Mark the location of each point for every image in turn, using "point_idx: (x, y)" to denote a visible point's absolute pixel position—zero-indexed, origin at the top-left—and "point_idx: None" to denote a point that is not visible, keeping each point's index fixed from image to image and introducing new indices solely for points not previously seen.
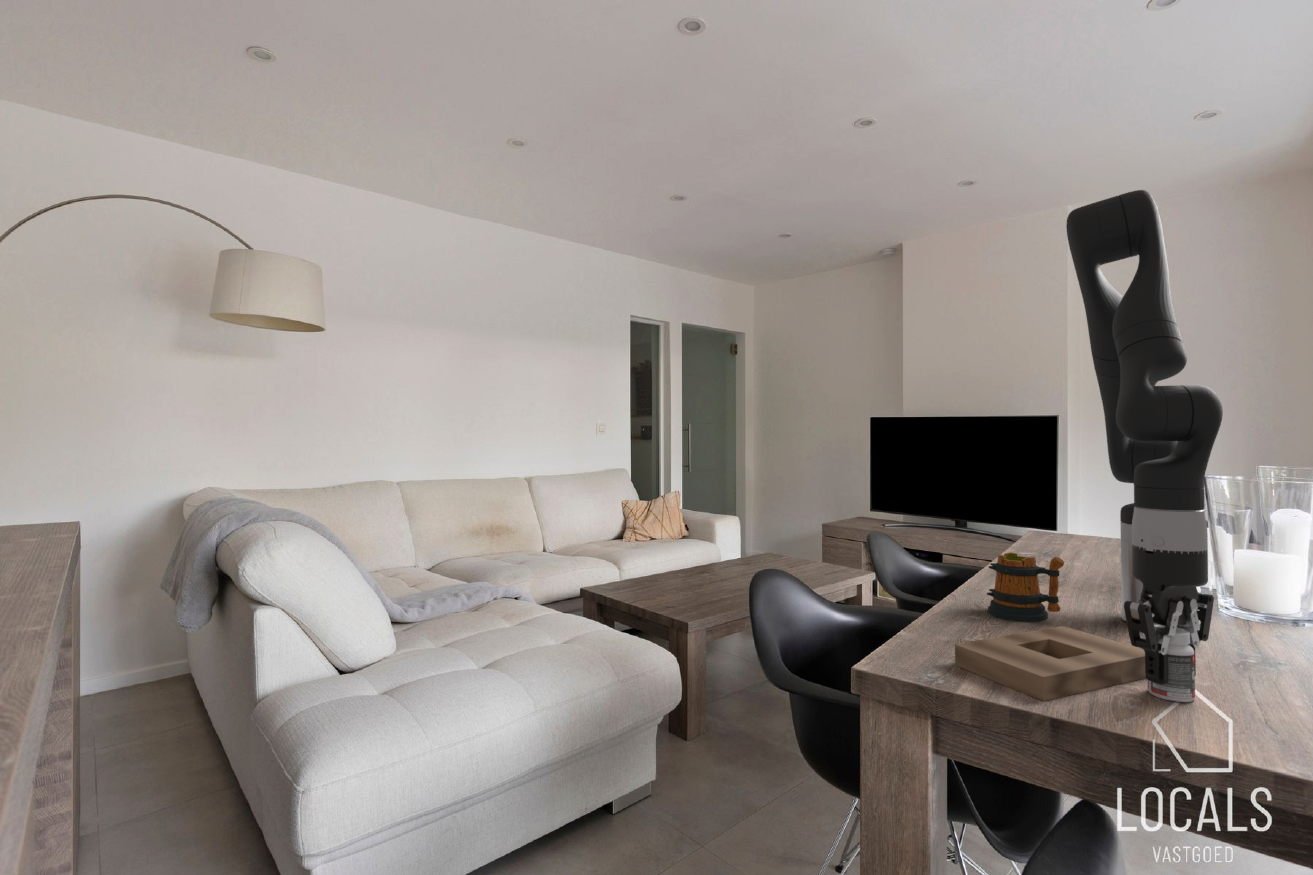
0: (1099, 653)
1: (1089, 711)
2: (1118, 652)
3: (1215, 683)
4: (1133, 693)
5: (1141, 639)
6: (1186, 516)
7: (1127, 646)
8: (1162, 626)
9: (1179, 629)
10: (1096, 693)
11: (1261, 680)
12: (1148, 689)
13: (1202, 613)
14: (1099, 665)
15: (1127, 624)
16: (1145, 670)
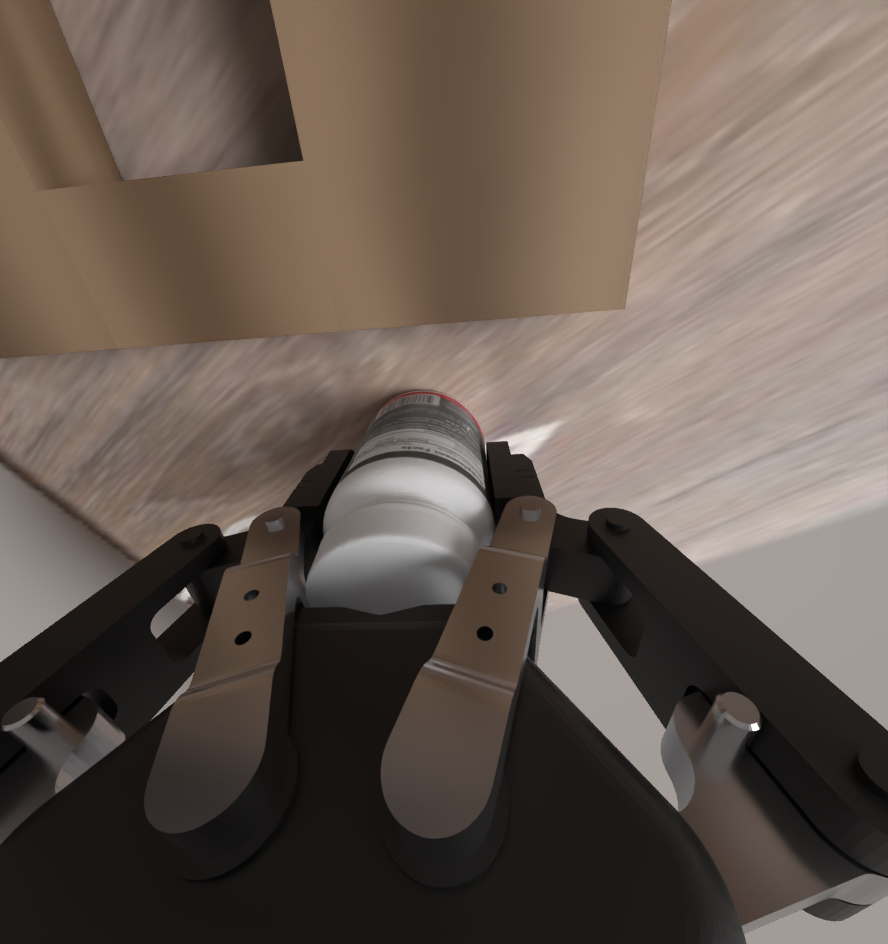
0: (324, 190)
1: (107, 444)
2: (443, 217)
3: (668, 422)
4: (331, 394)
5: (188, 587)
6: None
7: (605, 135)
8: (408, 572)
9: None
10: (209, 354)
11: (830, 452)
12: (377, 412)
13: (661, 711)
14: (199, 341)
15: (60, 619)
16: (304, 476)
